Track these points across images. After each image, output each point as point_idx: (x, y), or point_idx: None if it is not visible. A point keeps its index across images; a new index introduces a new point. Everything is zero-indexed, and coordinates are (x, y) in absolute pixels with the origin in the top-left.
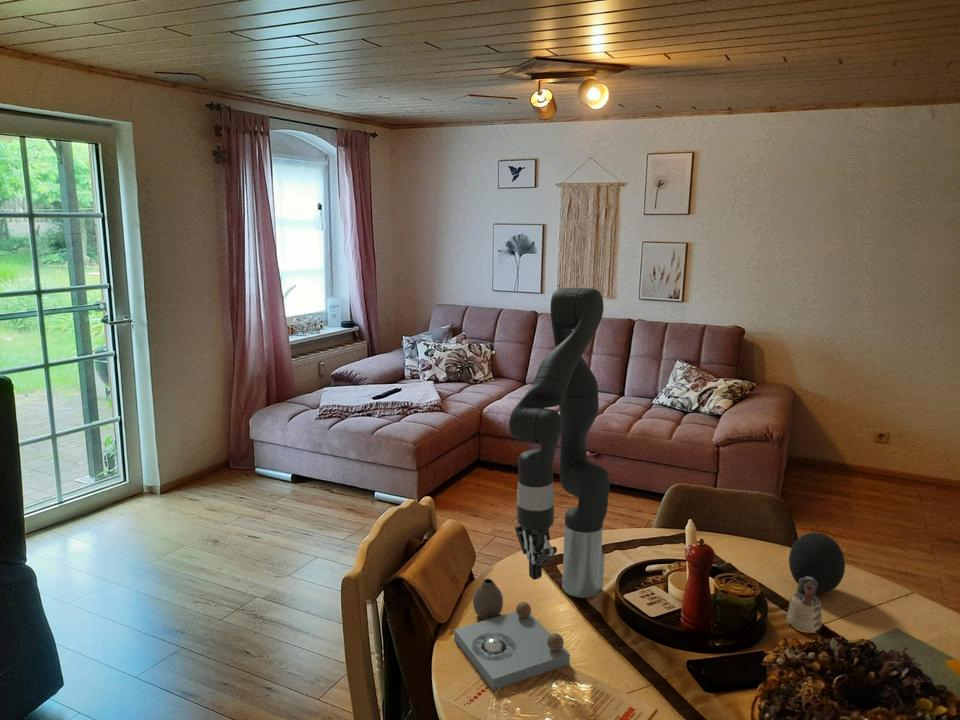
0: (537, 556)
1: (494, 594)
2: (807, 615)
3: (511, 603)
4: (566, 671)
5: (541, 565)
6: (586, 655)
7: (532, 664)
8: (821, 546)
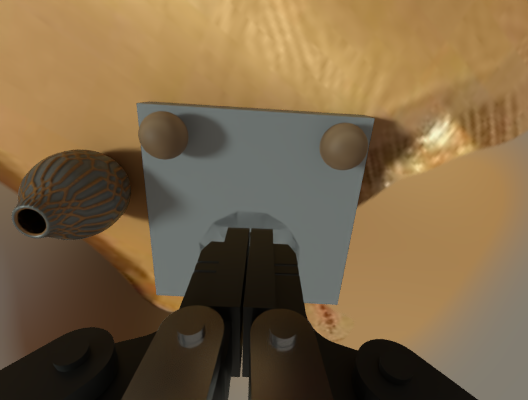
0: (225, 358)
1: (87, 206)
2: None
3: (67, 94)
4: (377, 137)
5: (305, 314)
6: (364, 48)
7: (349, 221)
8: None
